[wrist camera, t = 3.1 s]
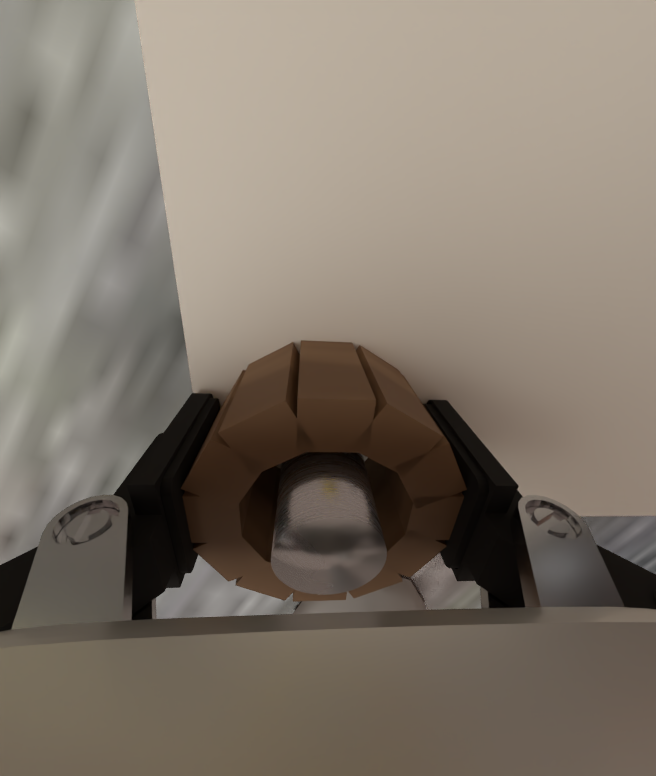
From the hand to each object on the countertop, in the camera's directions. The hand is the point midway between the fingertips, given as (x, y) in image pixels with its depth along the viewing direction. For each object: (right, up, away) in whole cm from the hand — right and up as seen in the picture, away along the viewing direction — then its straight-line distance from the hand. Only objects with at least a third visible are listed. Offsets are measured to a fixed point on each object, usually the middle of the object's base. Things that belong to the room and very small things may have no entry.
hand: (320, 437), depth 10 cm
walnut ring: (0, 0, 0) cm, 0 cm away
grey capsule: (0, 0, 0) cm, 0 cm away
